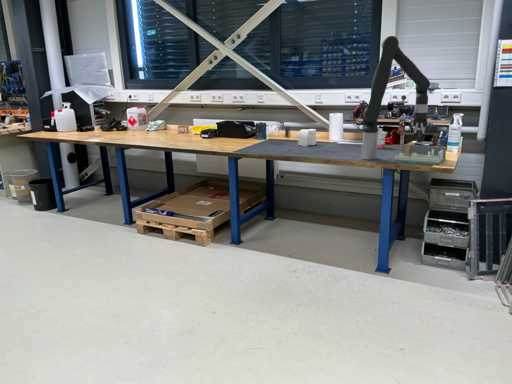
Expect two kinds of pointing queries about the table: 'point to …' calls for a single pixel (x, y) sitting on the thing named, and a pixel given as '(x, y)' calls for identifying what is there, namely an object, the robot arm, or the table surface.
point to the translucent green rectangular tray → (423, 155)
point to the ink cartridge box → (381, 139)
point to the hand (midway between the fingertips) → (419, 139)
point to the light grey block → (307, 137)
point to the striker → (418, 141)
